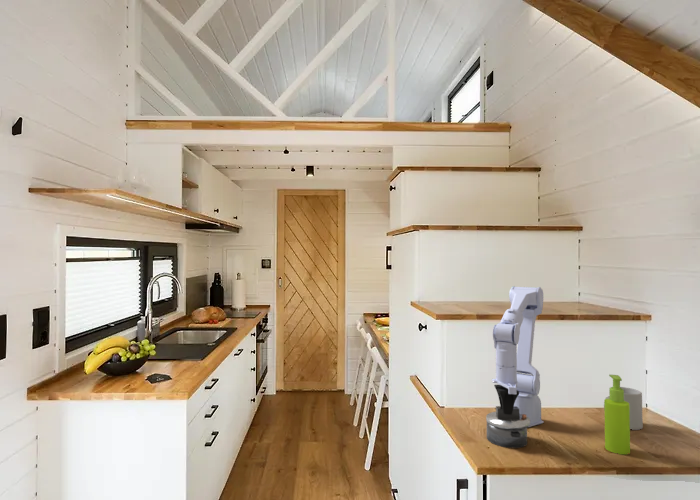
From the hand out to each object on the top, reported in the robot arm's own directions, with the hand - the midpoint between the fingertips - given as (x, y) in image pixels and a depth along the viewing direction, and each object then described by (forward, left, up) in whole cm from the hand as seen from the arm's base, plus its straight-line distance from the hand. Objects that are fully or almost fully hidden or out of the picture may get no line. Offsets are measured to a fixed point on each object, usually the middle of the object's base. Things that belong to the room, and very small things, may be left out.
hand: (506, 412), depth 123 cm
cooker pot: (0, 0, -8) cm, 8 cm away
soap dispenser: (-22, +19, -8) cm, 30 cm away
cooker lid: (0, 0, -3) cm, 3 cm away
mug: (-42, +10, -8) cm, 44 cm away
